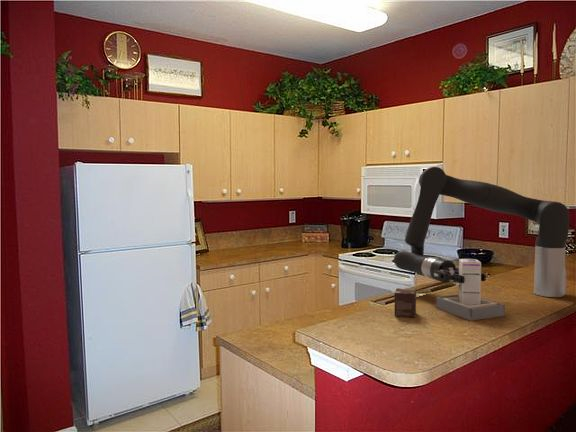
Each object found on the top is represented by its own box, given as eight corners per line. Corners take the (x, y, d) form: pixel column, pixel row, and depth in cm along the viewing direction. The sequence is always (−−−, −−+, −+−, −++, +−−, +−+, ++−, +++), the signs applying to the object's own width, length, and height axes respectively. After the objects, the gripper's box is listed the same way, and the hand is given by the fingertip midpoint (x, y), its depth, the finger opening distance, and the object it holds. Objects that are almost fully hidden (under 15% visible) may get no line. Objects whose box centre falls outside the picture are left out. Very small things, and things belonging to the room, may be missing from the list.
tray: (467, 303, 148) (467, 293, 148) (504, 315, 134) (504, 304, 134) (435, 307, 143) (435, 297, 143) (470, 320, 130) (470, 309, 129)
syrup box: (481, 309, 135) (482, 262, 134) (460, 308, 137) (461, 261, 136) (477, 304, 141) (478, 258, 140) (457, 303, 142) (458, 258, 141)
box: (416, 312, 138) (416, 289, 138) (415, 318, 132) (415, 293, 132) (396, 311, 140) (396, 287, 140) (394, 316, 134) (394, 292, 134)
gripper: (421, 259, 149) (456, 268, 133) (455, 256, 154) (492, 265, 139) (420, 281, 149) (455, 293, 134) (454, 278, 154) (492, 288, 139)
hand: (474, 278), depth 136 cm, fingers closed on syrup box, 8 cm apart
